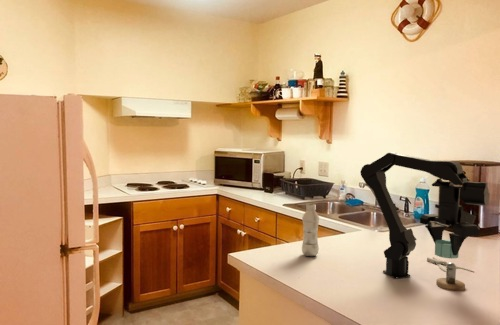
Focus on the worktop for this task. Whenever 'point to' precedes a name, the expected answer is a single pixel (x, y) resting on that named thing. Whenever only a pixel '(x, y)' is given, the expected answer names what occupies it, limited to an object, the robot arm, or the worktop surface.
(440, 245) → the ring
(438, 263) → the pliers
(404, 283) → the worktop surface
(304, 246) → the plastic bottle
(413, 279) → the worktop surface
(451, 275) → the post stand
